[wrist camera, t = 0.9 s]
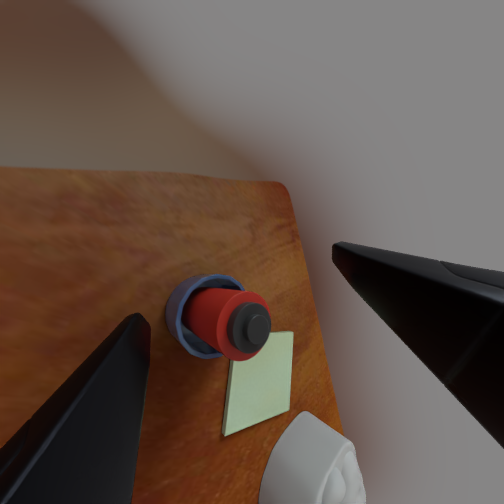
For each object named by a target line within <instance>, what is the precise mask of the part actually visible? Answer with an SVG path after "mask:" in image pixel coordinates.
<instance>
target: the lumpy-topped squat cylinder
mask: <svg viewBox="0 0 504 504" xmlns="http://www.w3.org/2000/svg"><path fill="white" fill-rule="evenodd" d="M365 503H366V493H365V489H364V486H363V479H362V474H361V472H360V469H359V466H358V464H357V459H356V453H355V448H354V445H353V444H352V442H350V441H349V440H348V439H346V438H345V437H343V436H342V435H341V434H339V433H338V432H336V431H335V430H333V429H332V428H331V427H329V426H328V425H326V424H325V423H323V422H322V421H321V420H319V419H318V418H316V417H315V416H313V415H312V414H311V413H309V412H307V411H303V412H301V413H300V414H298V415H297V416H296V418H295V419H294V420H293V421H292V422H291V423H290V425H289V426H288V427H287V428H286V430H285V431H284V433H283V434H282V435H281V437H280V438H279V440H278V441H277V443H276V445H275V446H274V448H273V450H272V453H271V455H270V458H269V460H268V463H267V466H266V469H265V472H264V475H263V478H262V482H261V487H260V493H259V501H258V504H365Z"/></svg>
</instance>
